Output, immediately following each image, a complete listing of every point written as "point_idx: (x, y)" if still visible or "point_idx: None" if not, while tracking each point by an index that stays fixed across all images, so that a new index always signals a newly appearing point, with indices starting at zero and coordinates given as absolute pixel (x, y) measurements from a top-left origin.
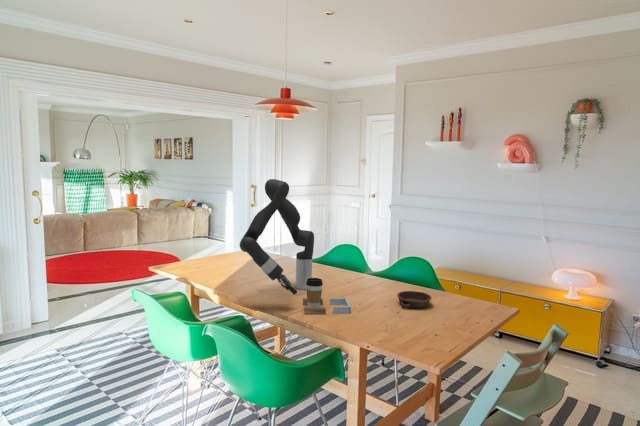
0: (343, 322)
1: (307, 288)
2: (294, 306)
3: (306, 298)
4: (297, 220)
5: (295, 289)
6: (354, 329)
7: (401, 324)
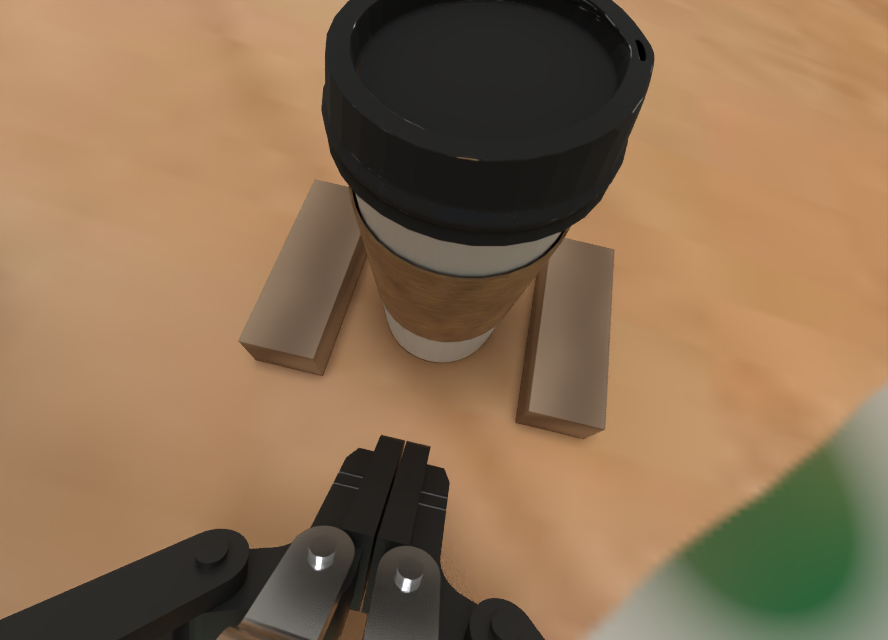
0: (756, 222)
1: (485, 268)
2: (332, 475)
3: (266, 308)
4: None
5: (383, 462)
6: (867, 209)
7: (756, 12)
